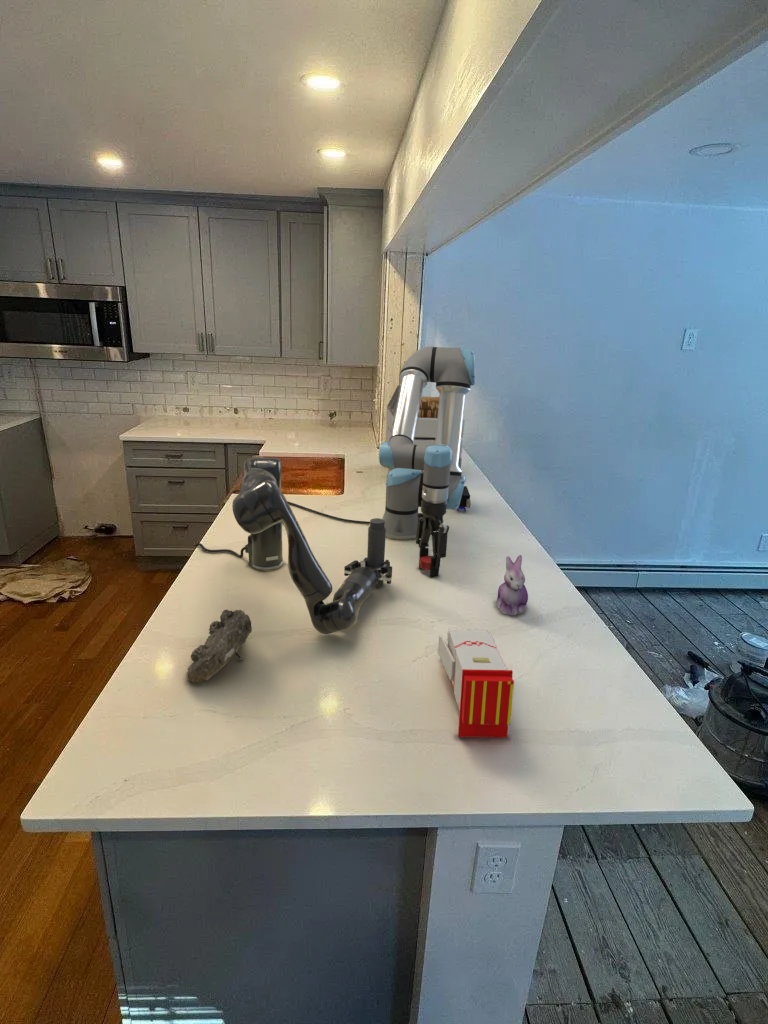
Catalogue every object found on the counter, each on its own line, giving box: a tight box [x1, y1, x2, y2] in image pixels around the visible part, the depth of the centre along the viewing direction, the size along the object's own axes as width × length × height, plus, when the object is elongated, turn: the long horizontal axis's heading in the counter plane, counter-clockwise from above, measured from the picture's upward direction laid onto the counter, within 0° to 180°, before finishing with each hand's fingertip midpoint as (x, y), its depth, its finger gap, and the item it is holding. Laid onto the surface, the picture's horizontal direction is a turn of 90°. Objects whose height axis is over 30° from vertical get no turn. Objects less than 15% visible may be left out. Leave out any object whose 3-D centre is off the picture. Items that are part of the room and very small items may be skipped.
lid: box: [420, 555, 432, 571], centre depth 171 cm, size 6×6×2 cm
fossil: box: [186, 609, 253, 683], centre depth 125 cm, size 22×10×15 cm
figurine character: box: [456, 485, 472, 513], centre depth 228 cm, size 7×8×15 cm
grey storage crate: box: [384, 384, 465, 472], centre depth 268 cm, size 34×33×41 cm
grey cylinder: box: [366, 517, 386, 589], centre depth 159 cm, size 5×5×20 cm
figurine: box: [496, 554, 529, 616], centre depth 150 cm, size 9×10×15 cm
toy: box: [437, 628, 515, 738], centre depth 117 cm, size 12×13×30 cm
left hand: (378, 561), depth 163 cm, fingers closed on grey cylinder, 5 cm apart
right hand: (428, 572), depth 172 cm, fingers closed on lid, 6 cm apart
